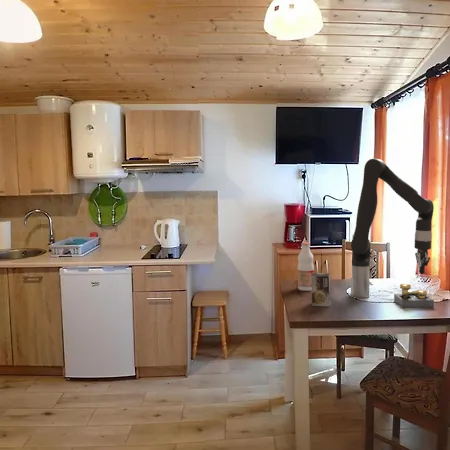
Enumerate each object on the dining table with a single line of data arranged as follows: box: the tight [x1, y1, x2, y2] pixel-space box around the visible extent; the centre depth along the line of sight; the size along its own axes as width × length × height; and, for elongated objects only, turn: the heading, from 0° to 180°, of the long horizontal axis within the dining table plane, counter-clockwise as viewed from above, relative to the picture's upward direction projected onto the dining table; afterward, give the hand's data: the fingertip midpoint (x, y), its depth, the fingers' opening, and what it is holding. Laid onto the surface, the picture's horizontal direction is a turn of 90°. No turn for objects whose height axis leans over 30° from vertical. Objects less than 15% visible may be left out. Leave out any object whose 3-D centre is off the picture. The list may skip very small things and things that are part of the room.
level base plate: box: [393, 290, 435, 309], centre depth 206 cm, size 15×12×6 cm
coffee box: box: [311, 272, 331, 307], centre depth 210 cm, size 9×6×16 cm
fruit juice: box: [297, 241, 315, 292], centre depth 240 cm, size 9×9×28 cm
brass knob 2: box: [415, 289, 428, 298], centre depth 205 cm, size 5×5×7 cm
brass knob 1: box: [399, 283, 412, 298], centre depth 205 cm, size 5×5×7 cm
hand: (421, 273), depth 204 cm, fingers closed
